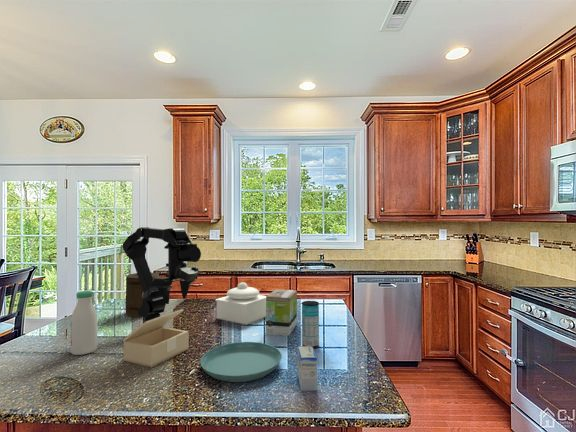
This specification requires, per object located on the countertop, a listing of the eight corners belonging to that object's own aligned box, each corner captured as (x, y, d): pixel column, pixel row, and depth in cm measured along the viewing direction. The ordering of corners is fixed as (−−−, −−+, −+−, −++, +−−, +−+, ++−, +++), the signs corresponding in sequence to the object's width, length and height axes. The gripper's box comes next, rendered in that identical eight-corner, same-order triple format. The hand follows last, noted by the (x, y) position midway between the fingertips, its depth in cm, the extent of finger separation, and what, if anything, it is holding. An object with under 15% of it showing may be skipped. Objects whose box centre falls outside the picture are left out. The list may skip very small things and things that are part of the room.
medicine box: (297, 377, 94) (297, 346, 94) (313, 376, 94) (312, 345, 94) (300, 391, 86) (300, 357, 86) (317, 390, 87) (317, 357, 87)
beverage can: (320, 343, 120) (320, 301, 120) (317, 349, 114) (317, 305, 114) (304, 341, 121) (303, 300, 121) (300, 347, 116) (300, 304, 116)
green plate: (207, 352, 112) (207, 342, 113) (279, 350, 114) (279, 340, 114) (192, 389, 88) (192, 376, 88) (284, 385, 90) (284, 372, 90)
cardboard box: (123, 360, 106) (123, 341, 106) (162, 343, 120) (162, 326, 120) (152, 367, 100) (152, 347, 101) (188, 349, 115) (188, 331, 115)
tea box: (290, 336, 127) (290, 297, 127) (264, 334, 129) (264, 296, 129) (297, 324, 142) (297, 289, 142) (274, 322, 144) (274, 288, 144)
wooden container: (151, 316, 154) (151, 268, 154) (119, 316, 154) (119, 268, 154) (163, 308, 169) (163, 264, 169) (134, 308, 169) (134, 264, 169)
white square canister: (270, 315, 156) (270, 281, 156) (245, 325, 141) (245, 287, 141) (241, 310, 166) (241, 277, 166) (215, 319, 151) (215, 283, 151)
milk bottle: (102, 348, 116) (102, 290, 116) (82, 357, 109) (82, 295, 109) (86, 345, 118) (86, 288, 119) (65, 354, 111) (65, 293, 111)
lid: (123, 341, 106) (122, 339, 106) (162, 326, 120) (161, 324, 120) (146, 323, 102) (145, 321, 102) (183, 310, 116) (182, 308, 116)
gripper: (175, 264, 118) (175, 309, 117) (208, 258, 135) (208, 297, 135) (151, 263, 122) (151, 306, 122) (186, 257, 139) (186, 295, 139)
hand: (176, 301), depth 129 cm, fingers open, 9 cm apart
